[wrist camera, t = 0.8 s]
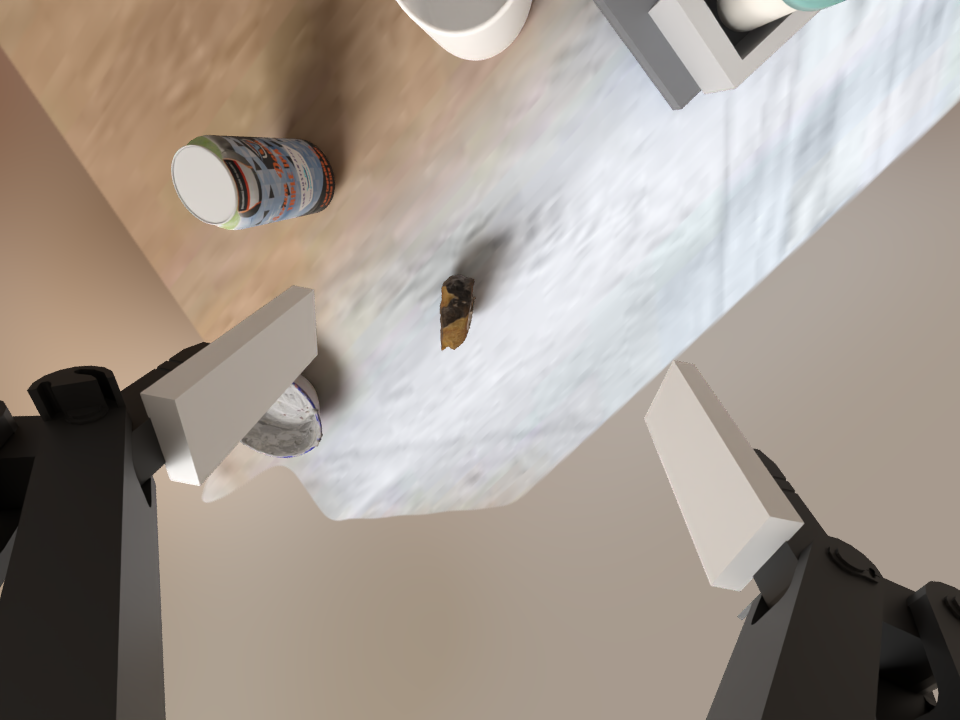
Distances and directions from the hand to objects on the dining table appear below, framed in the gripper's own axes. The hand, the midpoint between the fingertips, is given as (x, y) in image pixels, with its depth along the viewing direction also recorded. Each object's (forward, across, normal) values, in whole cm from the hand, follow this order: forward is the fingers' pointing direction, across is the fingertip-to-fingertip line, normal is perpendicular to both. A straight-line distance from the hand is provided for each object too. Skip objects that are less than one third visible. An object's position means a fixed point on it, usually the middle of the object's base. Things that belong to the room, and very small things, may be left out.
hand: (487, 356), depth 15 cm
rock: (+26, -3, -8) cm, 27 cm away
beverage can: (+26, -19, 0) cm, 32 cm away
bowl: (+26, -23, -26) cm, 43 cm away
